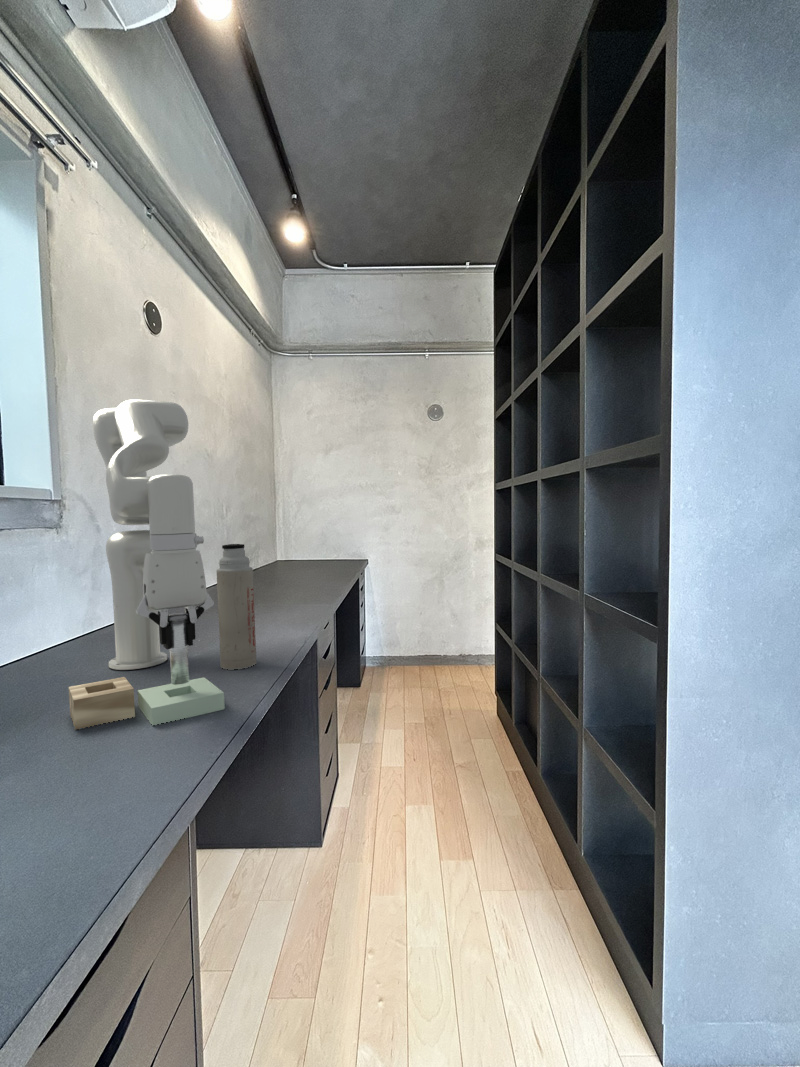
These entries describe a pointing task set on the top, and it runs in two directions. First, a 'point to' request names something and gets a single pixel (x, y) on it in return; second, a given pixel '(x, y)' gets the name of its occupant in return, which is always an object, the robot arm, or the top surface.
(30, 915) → the top surface
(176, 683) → the pin
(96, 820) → the top surface
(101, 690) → the frame
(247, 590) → the thermos bottle
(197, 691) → the dock
